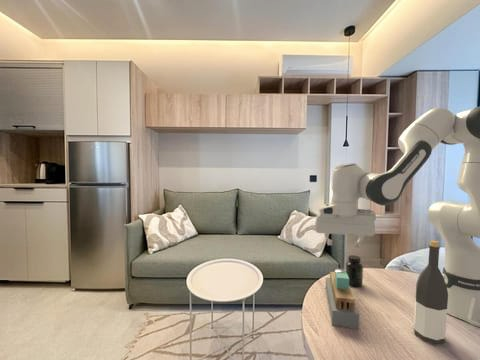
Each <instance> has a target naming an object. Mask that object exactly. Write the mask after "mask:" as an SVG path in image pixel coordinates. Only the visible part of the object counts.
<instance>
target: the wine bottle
mask: <svg viewBox="0 0 480 360" xmlns="http://www.w3.org/2000/svg"><path fill="white" fill-rule="evenodd" d="M428 247H429V248H428V249H429V251H428V262H427V266H425V268H424V269H422V271H421V273H420V274H419V275H418V278H417V281H416V285H415V286H416V287H415V299H414V300H415V302H414V319H413V320H414V321H413V330H414V331H413V332H414V335H415V336H416V337H418V338H419V339H420V340H422V341H423V342H426V343H429V344H432V345H434V346H435V345H436V346H437V345H443V344H445V342H446V341H445V340H446V330H447V315H448V313H447V304H448V291H447V286H446V283H445V280H444V278H443V273H442V272H441V270H440V268H439V259H440V258H439V257H440V249H441V248H440V247H441V246H440V242H439V240H430V243H429V244H428Z"/></svg>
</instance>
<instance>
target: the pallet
mask: <svg viewBox="0 0 480 360" xmlns="http://www.w3.org/2000/svg"><path fill="white" fill-rule="evenodd" d="M329 278H330V283H331V288H332V292H333V297H334V301H335V306H336V308H339V309H341V302H342V306H343V309H346V310H347V305H348V309H349V310H354V302H355V298H354V295H353V292H352V289H351V286H350V285H349V290H347V289H338V288H337V287H336V284H335V271H329Z"/></svg>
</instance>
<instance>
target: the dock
mask: <svg viewBox="0 0 480 360" xmlns="http://www.w3.org/2000/svg"><path fill="white" fill-rule="evenodd" d="M325 293H326V298H327V305H328V310H329V314H330V321H331V326H336V327H341V328H350V329H357V330H358V329H359V323H360V322H359V320H360V314H359V311H358V308H357V305H356V303H355V302H354V310H349V309H348V305H347V310H346V309H343V306H342V302H341V309H339V308H336V306H335V301H334V297H333V292H332V288H331V283H330V277H325Z"/></svg>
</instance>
